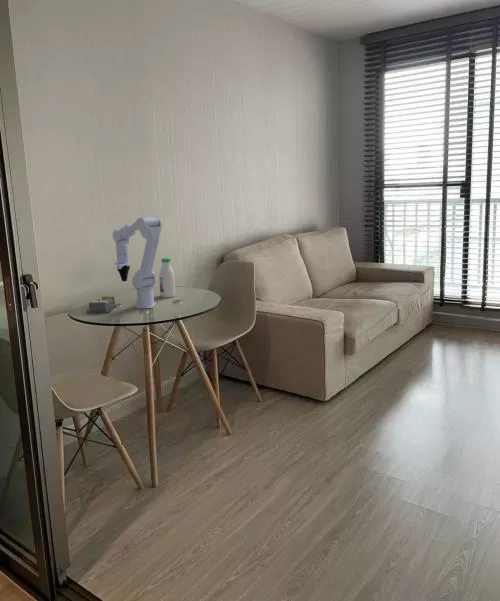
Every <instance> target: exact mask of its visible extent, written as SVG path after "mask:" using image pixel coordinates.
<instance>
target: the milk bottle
mask: <svg viewBox="0 0 500 601" xmlns="http://www.w3.org/2000/svg"><path fill="white" fill-rule="evenodd" d="M160 267H161V268H160V269H159V275H158V276H159V292H160V294H159V295H160V297H161V298H173V297H176V284H175V283H176V282H175V279H176V278H175V272H174V269H173V267H172V266H171V257H170V258H169V257H163V258H161V266H160Z"/></svg>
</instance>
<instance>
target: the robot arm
mask: <svg viewBox="0 0 500 601" xmlns="http://www.w3.org/2000/svg"><path fill="white" fill-rule="evenodd" d="M162 228H163V224H162V221H161V219H160V217H159V216H150V217H149V216H148V217H138V218H136V220H135V221H134V222H133V223H132V224H131V223H125V225H124V226H122V227H120V229H114V230H113V232H112V239H113V241H114V242H115V250H116V252H115V253H116V262H115V263H114V265H116V270H117V271H118V273H119V276H120V279H121V281H122V282H127V281H128V276H129V271H130V268H131V265H130V258H129V244H130V243H129V242H130V241H129V240H130V238H131V237H133V236H134V235H136V232H137V231H139V233H140V234H141V236H142V238H144V239H146V242H145V246H144V250H143V256H142V260H141V263H140V264H141V265H140V268H138V270H137V271H136V272H135V273H134V276H133V277H132V280H131V282H132V283H131V284H132V286H133V288H134V289H135V290H136V297H137V301H136V302H137V305H136V306H135V307H134V308H135V309H152V308H154V306H155V305H156V304H157V303H156V302H155V295H154V294H155V293H154V289H153V288H154V286H155V284H156V273H155V272H154V270H153V267H154V262H155V258H156V254H157V251H158V246H159V241H160V236H161V231H162Z"/></svg>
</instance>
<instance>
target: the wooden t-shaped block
mask: <svg viewBox="0 0 500 601" xmlns="http://www.w3.org/2000/svg"><path fill="white" fill-rule="evenodd" d="M115 297H116V296H115V295H113V296H112V295H108V296H107V295H103V296H101V301H109V300H110V299H113V304H114V305H116V300H115Z"/></svg>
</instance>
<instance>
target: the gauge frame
mask: <svg viewBox="0 0 500 601" xmlns="http://www.w3.org/2000/svg"><path fill="white" fill-rule="evenodd" d="M95 301H101V299H100V298H97V299H95ZM88 308H89V309H88V310H87V311H86V313H87V314H110V313H111V312H112V311H114V310H115V309H116V308H117V304H113V299H110V300H109V301H107V303H106V302H92V301H91V302H88Z"/></svg>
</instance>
